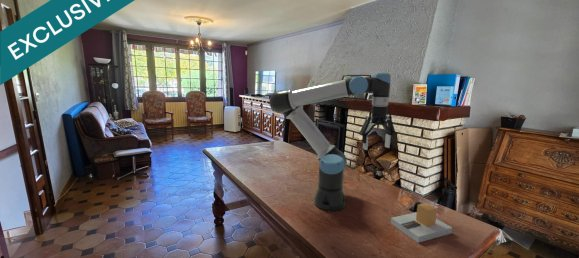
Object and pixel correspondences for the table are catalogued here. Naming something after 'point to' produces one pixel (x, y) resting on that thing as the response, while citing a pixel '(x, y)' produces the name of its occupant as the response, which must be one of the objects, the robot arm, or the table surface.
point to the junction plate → (420, 228)
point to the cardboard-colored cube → (426, 214)
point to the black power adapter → (415, 207)
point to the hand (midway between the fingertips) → (376, 148)
